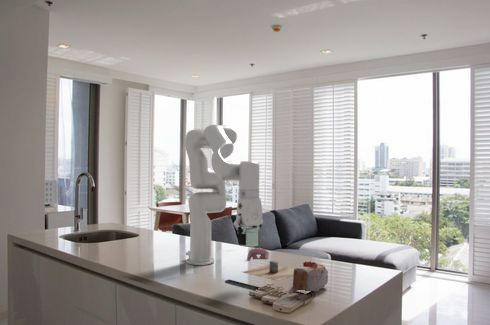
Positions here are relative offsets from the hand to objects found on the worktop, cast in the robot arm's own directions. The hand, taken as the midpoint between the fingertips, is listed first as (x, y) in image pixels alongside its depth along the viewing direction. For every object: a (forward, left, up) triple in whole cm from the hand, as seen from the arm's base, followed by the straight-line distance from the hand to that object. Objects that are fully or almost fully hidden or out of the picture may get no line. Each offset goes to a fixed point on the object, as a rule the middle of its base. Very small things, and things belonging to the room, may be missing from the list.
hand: (248, 243), depth 145 cm
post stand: (0, +16, -15) cm, 22 cm away
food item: (+20, +10, -15) cm, 27 cm away
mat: (0, 0, -15) cm, 15 cm away
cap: (0, 0, -1) cm, 1 cm away
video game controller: (-21, +32, -15) cm, 41 cm away
